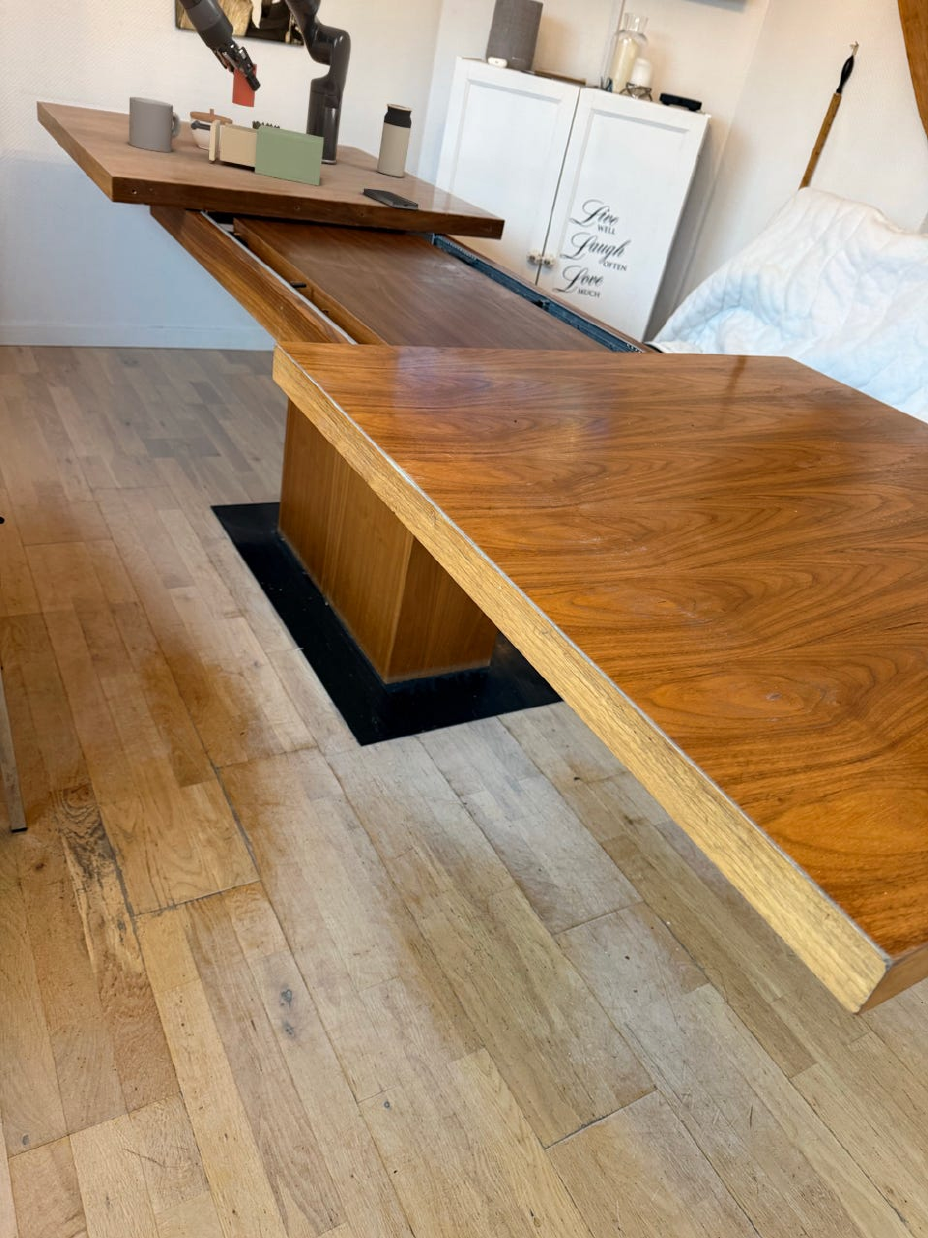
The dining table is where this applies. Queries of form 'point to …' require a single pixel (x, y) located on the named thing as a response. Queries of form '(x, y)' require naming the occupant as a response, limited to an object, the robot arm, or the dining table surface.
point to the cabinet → (288, 155)
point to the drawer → (231, 142)
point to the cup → (257, 124)
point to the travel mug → (394, 140)
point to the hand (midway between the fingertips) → (251, 85)
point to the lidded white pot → (203, 135)
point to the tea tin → (242, 89)
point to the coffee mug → (152, 124)
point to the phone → (390, 199)
